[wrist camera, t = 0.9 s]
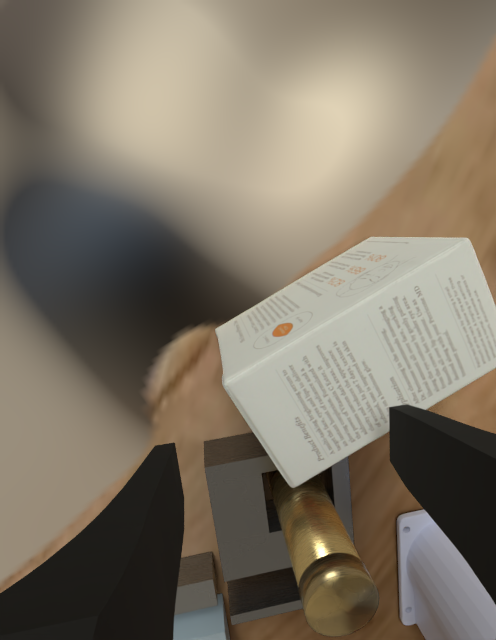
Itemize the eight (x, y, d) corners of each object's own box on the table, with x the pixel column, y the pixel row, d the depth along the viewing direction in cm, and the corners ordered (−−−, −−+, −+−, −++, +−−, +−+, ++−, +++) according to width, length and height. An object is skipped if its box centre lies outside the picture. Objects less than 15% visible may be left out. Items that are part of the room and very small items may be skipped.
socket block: (341, 560, 25) (357, 595, 23) (228, 585, 25) (231, 625, 22) (330, 418, 23) (347, 440, 20) (203, 441, 22) (204, 467, 20)
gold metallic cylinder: (314, 484, 24) (380, 626, 15) (267, 494, 24) (308, 644, 15) (310, 442, 23) (377, 566, 14) (262, 451, 23) (301, 583, 14)
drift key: (217, 583, 25) (219, 622, 22) (114, 606, 24) (104, 649, 21) (210, 544, 24) (211, 580, 21) (103, 566, 23) (92, 607, 21)
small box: (409, 315, 22) (260, 404, 22) (371, 232, 21) (212, 328, 21) (522, 360, 14) (291, 495, 14) (473, 233, 13) (218, 386, 13)
